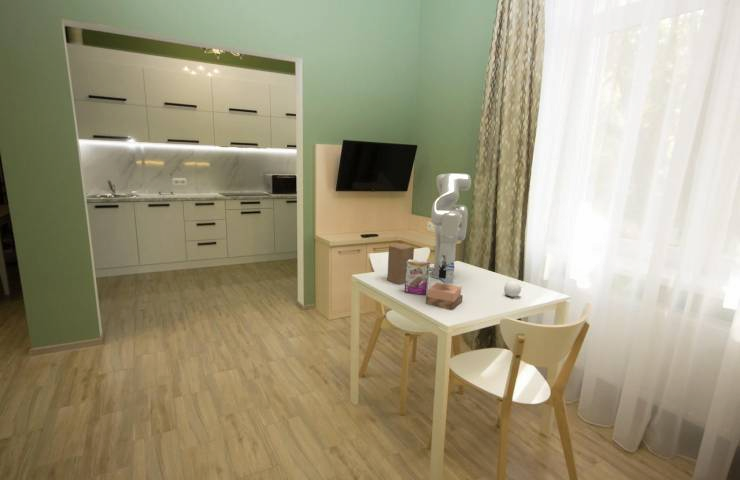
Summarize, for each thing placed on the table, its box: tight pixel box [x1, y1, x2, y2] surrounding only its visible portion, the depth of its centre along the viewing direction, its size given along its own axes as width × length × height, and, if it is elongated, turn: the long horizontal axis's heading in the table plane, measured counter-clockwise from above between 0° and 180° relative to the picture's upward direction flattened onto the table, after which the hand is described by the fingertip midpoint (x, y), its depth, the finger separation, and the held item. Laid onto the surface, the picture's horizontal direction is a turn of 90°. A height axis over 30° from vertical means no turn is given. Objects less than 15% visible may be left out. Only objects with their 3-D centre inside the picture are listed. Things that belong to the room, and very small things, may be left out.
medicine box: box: [438, 264, 455, 285], centre depth 176 cm, size 8×4×9 cm, turn 8°
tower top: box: [427, 282, 462, 302], centre depth 178 cm, size 12×12×4 cm
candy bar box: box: [404, 259, 431, 296], centre depth 190 cm, size 11×5×16 cm, turn 71°
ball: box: [503, 280, 522, 298], centre depth 191 cm, size 8×8×8 cm
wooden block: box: [386, 243, 415, 285], centre depth 208 cm, size 10×10×20 cm
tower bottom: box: [425, 294, 463, 311], centre depth 178 cm, size 13×13×4 cm
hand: (446, 275), depth 176 cm, fingers closed on medicine box, 9 cm apart
